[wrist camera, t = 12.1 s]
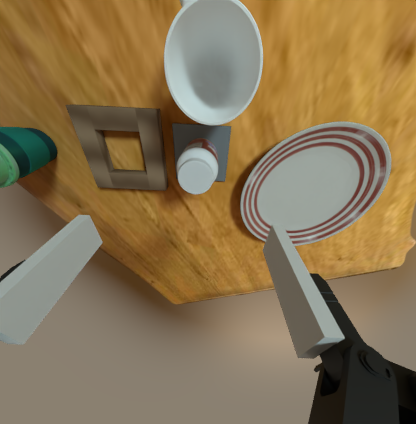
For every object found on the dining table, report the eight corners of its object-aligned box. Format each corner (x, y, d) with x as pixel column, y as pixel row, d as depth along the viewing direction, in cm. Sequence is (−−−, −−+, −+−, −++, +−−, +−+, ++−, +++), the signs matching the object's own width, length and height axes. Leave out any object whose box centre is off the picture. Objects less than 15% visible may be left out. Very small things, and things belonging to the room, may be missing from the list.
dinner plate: (401, 183, 33) (418, 191, 30) (287, 252, 45) (292, 262, 43) (330, 76, 23) (345, 73, 21) (213, 200, 36) (213, 208, 33)
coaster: (172, 123, 27) (172, 123, 27) (230, 126, 27) (231, 126, 27) (176, 178, 33) (176, 178, 33) (224, 180, 33) (225, 181, 33)
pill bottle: (220, 166, 31) (223, 194, 22) (190, 174, 32) (181, 203, 23) (213, 133, 28) (212, 149, 18) (179, 142, 29) (164, 161, 20)
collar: (74, 104, 26) (65, 104, 24) (159, 108, 26) (156, 109, 24) (103, 183, 34) (97, 187, 33) (168, 186, 34) (166, 190, 32)
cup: (8, 120, 28) (-105, 130, 18) (51, 116, 27) (-41, 124, 17) (40, 165, 32) (-36, 194, 23) (77, 163, 32) (16, 190, 22)
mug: (250, 99, 25) (274, 98, 15) (200, 126, 27) (193, 140, 18) (222, -9, 19) (231, -125, 9) (161, 37, 21) (117, -16, 12)
